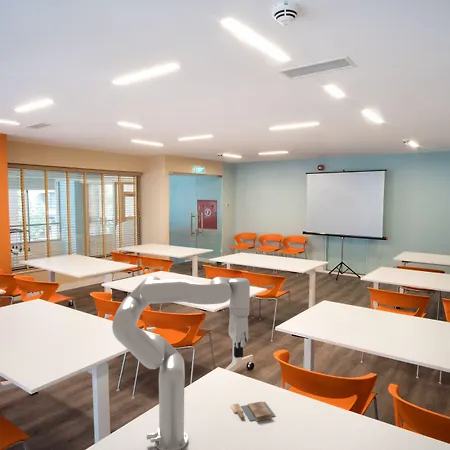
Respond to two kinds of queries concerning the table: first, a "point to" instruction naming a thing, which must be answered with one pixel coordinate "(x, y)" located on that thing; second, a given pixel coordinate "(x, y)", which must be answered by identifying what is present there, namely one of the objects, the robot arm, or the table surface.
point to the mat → (249, 415)
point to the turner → (237, 410)
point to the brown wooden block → (259, 411)
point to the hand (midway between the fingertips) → (238, 356)
